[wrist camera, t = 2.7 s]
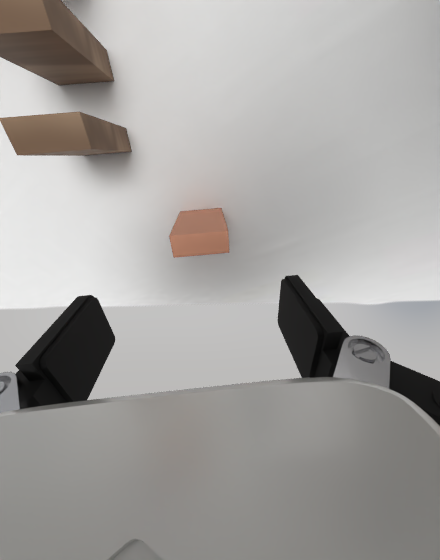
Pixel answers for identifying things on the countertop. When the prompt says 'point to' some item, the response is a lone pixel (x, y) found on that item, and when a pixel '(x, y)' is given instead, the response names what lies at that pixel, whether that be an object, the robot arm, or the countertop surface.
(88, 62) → the domino
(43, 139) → the domino
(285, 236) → the countertop surface
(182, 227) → the domino
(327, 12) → the countertop surface
